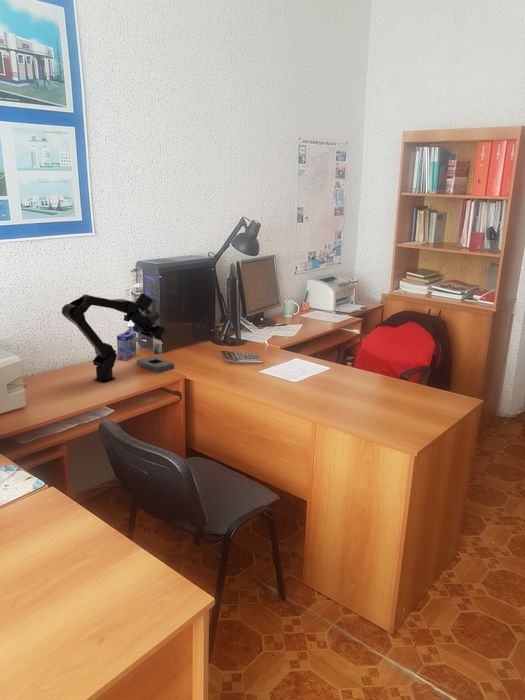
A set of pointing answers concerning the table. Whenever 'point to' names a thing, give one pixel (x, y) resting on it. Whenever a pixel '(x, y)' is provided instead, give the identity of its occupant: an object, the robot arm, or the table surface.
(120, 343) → the ink cartridge box
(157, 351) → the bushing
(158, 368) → the jig
